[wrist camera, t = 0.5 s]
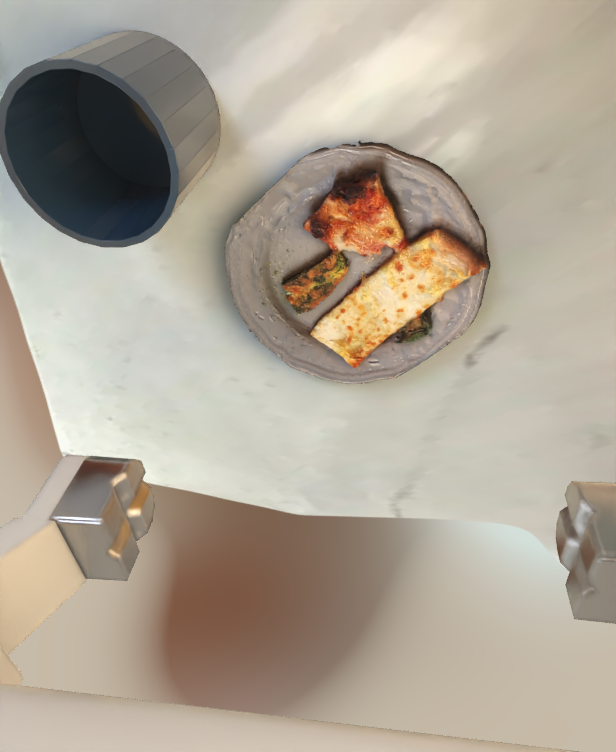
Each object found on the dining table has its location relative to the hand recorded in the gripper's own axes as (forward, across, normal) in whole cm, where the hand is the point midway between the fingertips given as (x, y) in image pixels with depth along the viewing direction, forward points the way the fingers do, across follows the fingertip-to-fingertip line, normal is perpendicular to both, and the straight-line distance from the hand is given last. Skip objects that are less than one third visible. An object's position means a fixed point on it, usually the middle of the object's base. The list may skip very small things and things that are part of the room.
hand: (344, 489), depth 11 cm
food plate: (+44, +3, +18) cm, 48 cm away
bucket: (+44, +21, +3) cm, 49 cm away
